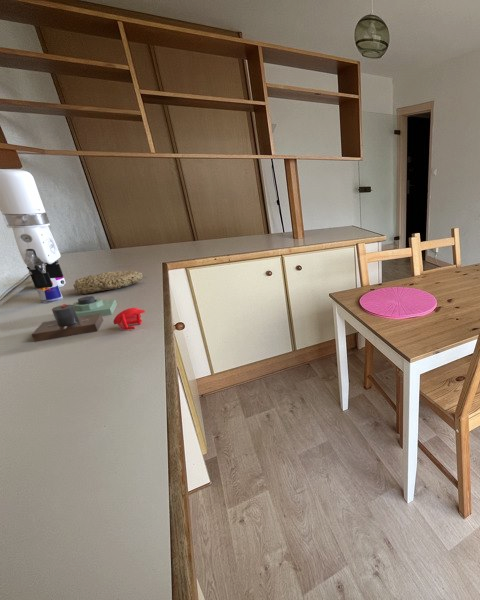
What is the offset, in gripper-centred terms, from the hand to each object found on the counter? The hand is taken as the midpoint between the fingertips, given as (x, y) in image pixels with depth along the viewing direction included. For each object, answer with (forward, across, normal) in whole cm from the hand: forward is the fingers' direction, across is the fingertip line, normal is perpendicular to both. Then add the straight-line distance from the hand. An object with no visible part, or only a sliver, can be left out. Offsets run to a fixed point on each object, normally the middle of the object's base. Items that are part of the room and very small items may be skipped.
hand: (50, 282), depth 88 cm
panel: (+15, 0, -1) cm, 15 cm away
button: (+12, +14, -3) cm, 18 cm away
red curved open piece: (+15, -6, -16) cm, 23 cm away
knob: (+13, 0, -1) cm, 13 cm away
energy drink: (+16, +35, +11) cm, 40 cm away
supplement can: (+16, +56, +16) cm, 60 cm away
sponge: (+16, +42, -5) cm, 45 cm away
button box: (+15, +14, -3) cm, 21 cm away
